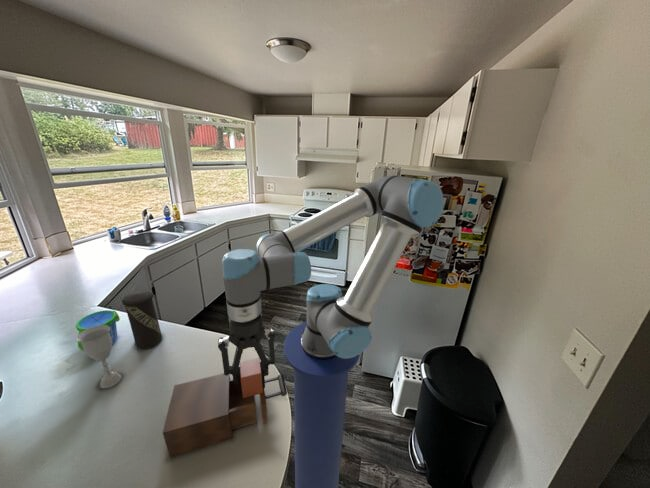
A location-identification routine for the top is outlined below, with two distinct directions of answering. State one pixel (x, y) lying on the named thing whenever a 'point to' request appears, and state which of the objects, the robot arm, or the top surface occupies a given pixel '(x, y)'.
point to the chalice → (99, 351)
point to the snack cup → (99, 323)
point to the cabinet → (198, 415)
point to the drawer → (249, 404)
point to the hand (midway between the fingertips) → (252, 386)
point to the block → (251, 378)
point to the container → (142, 318)
